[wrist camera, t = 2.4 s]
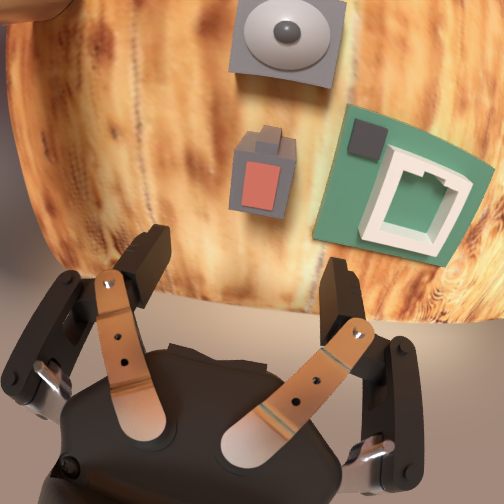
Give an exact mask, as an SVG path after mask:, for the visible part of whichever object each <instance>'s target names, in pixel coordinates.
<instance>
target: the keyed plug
mask: <svg viewBox="0 0 504 504" xmlns="http://www.w3.org/2000/svg"><path fill="white" fill-rule="evenodd" d="M281 130H282V128H277V127H271V126H265V125H264V126H263V128H262V130H261V132H260V133H257V132H250V131H247V133H246V134H245V135H244V137H243V138H242V140H241V141H240V143H239V144H238V146H237V147H236V148H235V150H234V159H233V169H232V179H231V189H230V199H229V209H230V210H235V211H241V212H247V213H252V214H258V215H263V216H268V217H274V218H279V219H284V214H285V210H286V205H287V201H288V196H289V192H290V187H291V183H292V178H293V174H294V169H295V164H296V139H291V138H286V137H280V136H281Z"/></svg>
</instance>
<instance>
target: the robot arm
mask: <svg viewBox="0 0 504 504" xmlns="http://www.w3.org/2000/svg"><path fill="white" fill-rule="evenodd" d="M71 1H72V0H0V26H3V25H8V24H15V23H23V22H32V21H43V20H49V19H52V18H54V17H55V16H57V15H58V14H60V13H61V12H62V11H63V10H64V9H65V8H66V7H67V6H68V5H69V4H70V2H71ZM170 258H171V238H170V228H169V226H164V225H158V224H154V225H153V226H152V227H151V229H150V230H149V231H148V233H146V232H143V233H141V234H140V235H138V236H137V237H135V239H134V240H133V241H132V243H131V245H129V247H128V248H127V250H126V251H125V252H124V253H123V255H122V256H121V258H120V259H119V260H118V262H117V263H116V265H115V266H114V267H113V269H110V270H105V271H103V272H101V273H100V274H99V275H98V276H97V277H96V278H94V279H81V277H80V274H79V273H78V272H77V271H75V270H68V271H65V272H63V273H61V274H60V275H59V276H58V278H57V279H56V280H55V282H54V283H53V285H52V286H51V288H50V289H49V291H48V292H47V293H46V295H45V297H44V298H43V300H42V301H41V303H40V304H39V306H38V308H37V309H36V311H35V312H34V314H33V316H32V317H31V319H30V321H29V323H28V324H27V326H26V328H25V329H24V331H23V333H22V335H21V337H20V339H19V340H18V342H17V344H16V346H15V348H14V350H13V352H12V354H11V356H10V358H9V360H8V362H7V364H6V367H5V369H4V371H3V373H2V376H1V387H2V389H3V391H4V392H5V393H6V394H7V395H8V396H10V397H11V398H12V399H14V400H15V401H16V402H17V403H18V404H19V405H21V406H22V407H24V408H25V409H26V410H28V411H30V412H31V413H33V414H35V415H37V416H38V417H40V418H42V419H45V420H48V419H49V420H51V421H53V422H54V423H56V424H58V425H60V429H61V440H62V441H61V453H60V456H59V459H58V461H57V462H56V464H55V465H54V467H53V468H52V470H51V471H50V473H49V474H48V476H47V477H46V479H45V480H44V483H43V486H42V490H41V493H40V497H39V501H38V504H329V503H330V501H331V500H332V498H333V497H334V496H335V495H336V494H337V493H339V494H341V493H361V494H363V495H365V496H372V495H381V494H388V493H395V492H402V491H408V490H411V489H413V488H415V487H416V486H417V485H418V484H419V483H420V481H421V480H422V477H423V474H424V420H423V406H422V394H421V385H420V376H419V369H418V362H417V355H416V350H415V347H414V345H413V343H412V342H411V341H410V340H409V339H408V338H406V337H403V336H396V337H394V338H393V339H392V340H391V341H390V340H388V339H385V338H383V337H380V336H378V335H377V334H375V333H374V329H373V327H372V326H371V324H370V323H369V322H367V321H366V318H365V312H364V306H363V300H362V296H361V295H362V294H361V290H360V284H359V279H358V278H357V276H356V275H355V273H354V272H352V271H348V269H347V263H346V260H345V259H340V258H334V257H330V259H329V261H328V264H327V266H326V269H325V271H324V274H323V276H322V279H321V282H320V287H319V301H320V345H321V346H325V347H324V348H321V349H319V350H318V351H317V352H316V353H315V354H314V355H313V357H311V358H310V359H309V360H308V361H307V362H306V363H305V364H304V365H303V366H302V367H301V368H300V369H299V370H298V371H297V372H296V373H295V374H294V375H293V376H292V377H291V378H290V379H289V380H288V381H287V382H284V381H282V380H281V379H280V378H279V377H277V376H276V375H274V374H272V373H270V372H268V371H266V370H267V364H263V363H257V362H252V361H246V360H214V359H212V358H210V357H208V356H206V355H204V354H202V353H200V352H198V351H196V350H194V349H191V348H187V347H183V346H179V345H175V344H171V343H169V346H168V349H163V350H155V351H151V352H148V353H146V350H145V347H144V345H143V342H142V339H141V335H140V332H139V328H138V325H137V322H136V318H135V315H134V311H135V309H136V307H139V308H142V309H144V308H145V306H146V304H147V302H148V300H149V299H150V297H151V295H152V293H153V291H154V289H155V287H156V285H157V283H158V281H159V280H160V278H161V276H162V274H163V272H164V270H165V269H166V267H167V265H168V263H169V261H170ZM69 312H70V313H69ZM68 314H69V315H68ZM67 315H68V316H67ZM66 317H67V318H66ZM65 319H66V320H65ZM64 321H65V322H64ZM94 322H97V327H98V333H99V338H100V344H101V348H102V353H103V358H104V363H105V367H106V371H107V375H108V376H106V377H105V378H103V379H101V380H100V381H98V382H96V383H94V384H93V385H91V386H89V387H87V388H86V389H84V390H82V391H80V392H79V393H77V394H75V395H74V396H72V397H71V395H72V392H71V390H72V383H71V380H70V378H69V377H70V374H71V372H72V370H73V367H74V365H75V363H76V360H77V358H78V356H79V354H80V351H81V349H82V347H83V345H84V343H85V341H86V339H87V337H88V335H89V332H90V330H91V328H92V326H93V324H94ZM63 323H64V324H63ZM349 373H350V374H353V375H355V376H357V377H360V378H362V379H363V399H362V430H361V442H359V443H357V444H355V445H354V446H353V447H352V448H351V450H350V452H349V456H348V459H347V461H346V462H345V464H344V465H342V466H341V464H340V462H339V460H338V458H337V457H336V455H335V454H334V453H333V451H332V450H331V448H330V447H329V445H328V444H327V443H326V441H325V440H324V438H323V437H322V435H321V434H320V433H319V431H318V430H317V428H316V427H315V425H314V424H313V423H312V421H311V420H310V418H311V417H312V416H313V415H314V414H315V413H316V411H317V410H318V409H319V408H320V407H321V406H322V405H323V404H324V403H325V401H326V400H327V399H328V398H329V397H330V396H331V395H332V393H333V392H334V391H335V390H336V389H337V387H338V386H339V385H340V384H341V382H342V381H343V380H344V379H345V378H346V376H347V375H348V374H349Z"/></svg>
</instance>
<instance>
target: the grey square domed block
mask: <svg viewBox="0 0 504 504" xmlns="http://www.w3.org/2000/svg"><path fill="white" fill-rule="evenodd" d="M346 4H347V2H343V1H340V0H239V1H238V7H237V13H236V20H235V27H234V33H233V40H232V48H231V55H230V63H229V71H228V72H232V73H243V74H252V75H260V76H268V77H274V78H281V79H286V80H292V81H297V82H302V83H307V84H312V85H316V86H321V87H325V88H329V89H331V87H332V82H333V77H334V72H335V67H336V62H337V57H338V51H339V46H340V40H341V35H342V29H343V23H344V17H345V11H346Z"/></svg>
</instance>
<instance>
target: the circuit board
mask: <svg viewBox="0 0 504 504" xmlns="http://www.w3.org/2000/svg"><path fill="white" fill-rule="evenodd" d="M494 171H495V169H494V168H493V167H492V166H490V165H489V164H487V163H486V162H484V161H482V160H481V159H479V158H477V157H475V156H474V155H472V154H470V153H468V152H466V151H465V150H463V149H461V148H459V147H457V146H455V145H453V144H451V143H449V142H447V141H445V140H443V139H441V138H439V137H437V136H434V135H432V134H430V133H428V132H426V131H423V130H421V129H419V128H416V127H414V126H411V125H409V124H406V123H404V122H401V121H399V120H396V119H393V118H391V117H388V116H385V115H382V114H379V113H377V112H374V111H370V110H367V109H364V108H361V107H358V106H354V105H351V104H347V106H346V111H345V115H344V119H343V123H342V127H341V131H340V135H339V139H338V143H337V147H336V151H335V155H334V159H333V163H332V166H331V170H330V174H329V177H328V181H327V184H326V188H325V192H324V195H323V198H322V202H321V205H320V209H319V212H318V215H317V219H316V222H315V225H314V229H313V239H318V240H323V241H328V242H333V243H337V244H342V245H347V246H352V247H357V248H361V249H366V250H371V251H375V252H380V253H384V254H389V255H393V256H398V257H402V258H407V259H411V260H415V261H420V262H424V263H428V264H433V265H437V266H441V267H446V265H447V264H448V262H449V261H450V259H451V257H452V256H453V254H454V252H455V251H456V249H457V247H458V246H459V244H460V242H461V240H462V238H463V237H464V235H465V233H466V231H467V229H468V227H469V226H470V224H471V222H472V220H473V218H474V216H475V214H476V212H477V210H478V208H479V206H480V203H481V201H482V199H483V197H484V195H485V192H486V190H487V188H488V186H489V183H490V181H491V178H492V176H493V173H494Z"/></svg>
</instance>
